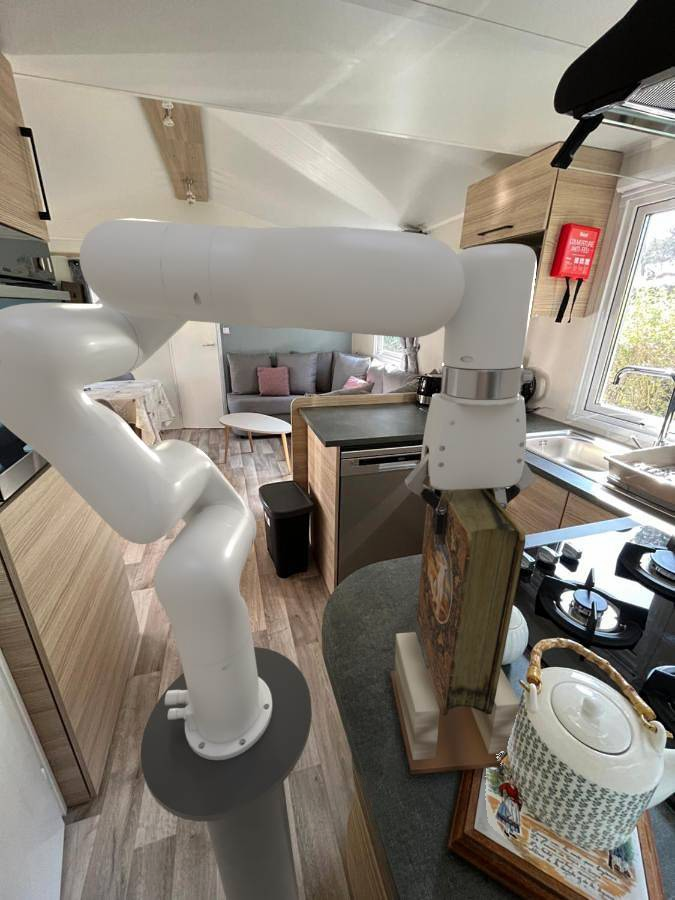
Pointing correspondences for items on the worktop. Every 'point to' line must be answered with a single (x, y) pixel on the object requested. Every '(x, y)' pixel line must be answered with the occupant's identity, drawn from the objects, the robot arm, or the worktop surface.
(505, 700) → the book rack
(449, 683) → the book
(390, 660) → the worktop surface
